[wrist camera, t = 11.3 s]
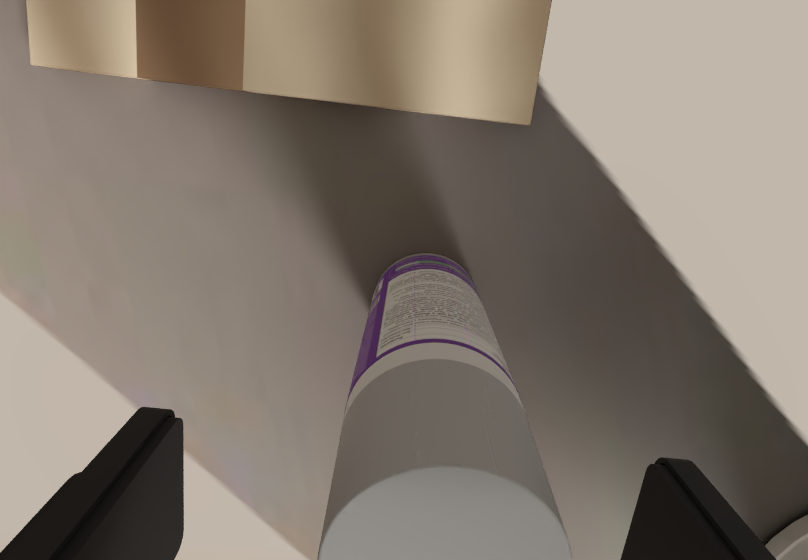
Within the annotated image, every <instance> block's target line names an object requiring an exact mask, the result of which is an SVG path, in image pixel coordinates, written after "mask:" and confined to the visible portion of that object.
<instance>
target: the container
mask: <svg viewBox="0 0 808 560" xmlns="http://www.w3.org/2000/svg"><path fill="white" fill-rule="evenodd" d="M318 560H572V553H571V548H570V544H569V541H568V538H567V535H566V532H565V529H564V526H563V523H562V520H561V517H560V514H559V511H558V508H557V505H556V502H555V500H554V497H553V494H552V491H551V488H550V485H549V482H548V479H547V476H546V473H545V470H544V467H543V464H542V462H541V459H540V456H539V453H538V450H537V447H536V444H535V441H534V438H533V435H532V432H531V429H530V426H529V423H528V421H527V418H526V415H525V412H524V409H523V406H522V403H521V400H520V397H519V394H518V391H517V389H516V386H515V384H514V381H513V379H512V377H511V374H510V372H509V369H508V367H507V364H506V362H505V359H504V357H503V354H502V352H501V349H500V347H499V344H498V342H497V339H496V337H495V334H494V332H493V329H492V327H491V324H490V322H489V319H488V317H487V314H486V312H485V309H484V307H483V304H482V302H481V299H480V297H479V295H478V292H477V290H476V287H475V285H474V283H473V281H472V279H471V277H470V276H469V274H468V273H467V272H466V271H465V270H464V268H463V267H461V266H460V265H459V264H458V263H456V262H455V261H453V260H452V259H449V258H447V257H445V256H442V255H438V254H433V253H418V254H413V255H409V256H406V257H404V258H402V259H400V260H398V261H396V262H395V263H393V264H392V265H391V266H390V267H389V268H387V270H386V271H385V272H384V273H383V274H382V276H381V277H380V279H379V281H378V283H377V285H376V288H375V291H374V294H373V298H372V302H371V306H370V310H369V314H368V318H367V323H366V327H365V331H364V335H363V339H362V343H361V347H360V351H359V355H358V359H357V363H356V367H355V372H354V376H353V380H352V384H351V388H350V392H349V396H348V400H347V404H346V408H345V415H344V421H343V426H342V431H341V436H340V442H339V447H338V452H337V457H336V463H335V468H334V473H333V478H332V484H331V489H330V494H329V500H328V505H327V510H326V515H325V521H324V526H323V531H322V536H321V542H320V547H319V552H318Z"/></svg>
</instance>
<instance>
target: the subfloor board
mask: <svg viewBox="0 0 808 560" xmlns="http://www.w3.org/2000/svg"><path fill="white" fill-rule="evenodd" d="M551 2H552V0H26V4H27V18H28V33H29V47H30V61H31V65H36V66H42V67H48V68H54V69H62V70H71V71H79V72H87V73H96V74H104V75H112V76H120V77H129V78H137V79H145V80H153V81H162V82H170V83H178V84H186V85H195V86H203V87H211V88H220V89H228V90H236V91H244V92H253V93H261V94H269V95H277V96H286V97H294V98H302V99H310V100H319V101H327V102H335V103H344V104H352V105H360V106H368V107H377V108H385V109H393V110H401V111H410V112H418V113H426V114H435V115H443V116H451V117H459V118H468V119H476V120H484V121H492V122H501V123H509V124H517V125H530V123H531V118H532V112H533V106H534V100H535V95H536V89H537V83H538V77H539V71H540V66H541V60H542V54H543V48H544V43H545V37H546V31H547V25H548V20H549V14H550V8H551Z"/></svg>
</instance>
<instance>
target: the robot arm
mask: <svg viewBox="0 0 808 560" xmlns="http://www.w3.org/2000/svg"><path fill="white" fill-rule="evenodd" d="M183 504H184V503H183V421H182V419H181V418H175V414H174V412H173V411H172V410H170V409H160V408H149V407H141V408H140V409H138V410H137V412H136V413H135V414H134V415H133V416H132V417H131V418H130V419H129V420H128V422H127V423H126V424H125V425H124V426H123V427H122V428H121V429H120V430H119V431H118V433H117V434H116V435H115V436H114V437H113V438H112V439H111V440H110V442H108V444H107V445H106V446H105V447H104V448H103V449H102V450H101V451H100V452H99V453H98V455H97V456H96V457H95V458H94V459H93V460H92V461H91V462H90V463H89V464H88V466H87V467H86V468H85V469H84V470H83V471H82V472H80V473H77V474H74V475H73V476H72V477H71V478H70V479H68V480H67V482H66V483H65V484H64V485H63V486H62V487H61V488H60V489H59V490H58V491H57V492H56V493H55V494H54V495H53V496H52V498H51V499H50V500H49V501H48V502H47V503H46V504H45V505H44V506H43V507H42V509H40V511H39V512H38V513H37V514H36V515H35V516H34V517H33V518H32V519H31V520H30V522H28V524H27V525H26V526H25V527H24V528H23V529H22V530H21V531H20V532H19V533H18V535H16V537H15V538H14V539H13V540H12V541H11V542H10V543H9V544H8V545H7V546H6V547H5V548H4V550H3V551H2V552H1V553H0V560H174V559H175V557H176V555H177V553H178V551H179V548H180V545H181V542H182V538H183V530H184V526H183V525H184V522H183V521H184V519H183V518H184V517H183V515H184V510H183V507H184V505H183ZM621 560H808V515H806V516H804V517H802V518H800V519H798V520H796V521H795V522H793V523H791V524H790V525H789V526H787V527H786V528H785V529H783V530H782V531H781V532H779V533H778V534H777V535H775V536H774V537H773V538H772V539H771V540H770V541H769V542H768V543H767V544H766V545H765V546H764V544H763V543H762V542H761V541H760V540H759V539H758V537H757V536H756V535H755V534H754V533H753V532H752V530H751V529H750V528H749V527H748V526H747V525H746V523H745V522H744V521H743V520H742V519H741V518H740V516H739V515H738V514H737V513H736V512H735V511H734V509H733V508H732V507H731V506H730V505H729V504H728V502H727V501H726V500H725V499H724V498H723V497H722V495H721V494H720V493H719V492H718V491H717V490H716V488H715V487H714V486H713V485H712V484H711V483H710V481H709V480H708V479H707V478H706V477H705V476H704V474H703V473H702V472H701V471H700V470H699V469H698V467H697V466H696V465H695V464H694V463H693V462H692V461H689V460H683V459H672V458H659V459H658V460H657V461H656V462H655V464H650V465H649V466H648V467H647V470H646V473H645V476H644V480H643V483H642V487H641V490H640V494H639V497H638V501H637V504H636V508H635V511H634V515H633V518H632V522H631V525H630V529H629V532H628V536H627V539H626V543H625V546H624V550H623V553H622V557H621Z"/></svg>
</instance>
